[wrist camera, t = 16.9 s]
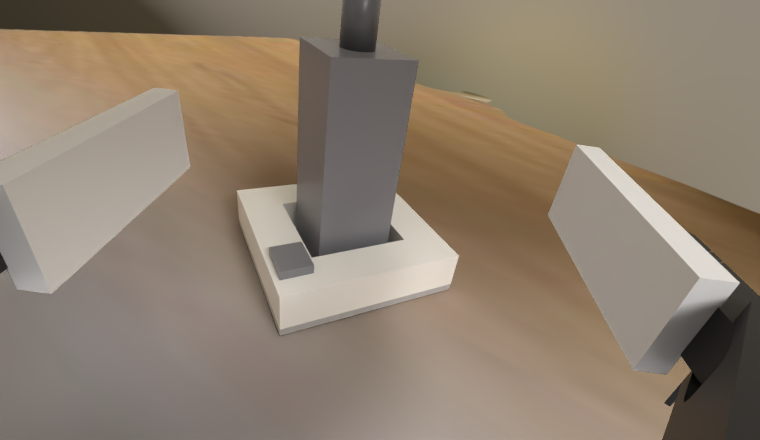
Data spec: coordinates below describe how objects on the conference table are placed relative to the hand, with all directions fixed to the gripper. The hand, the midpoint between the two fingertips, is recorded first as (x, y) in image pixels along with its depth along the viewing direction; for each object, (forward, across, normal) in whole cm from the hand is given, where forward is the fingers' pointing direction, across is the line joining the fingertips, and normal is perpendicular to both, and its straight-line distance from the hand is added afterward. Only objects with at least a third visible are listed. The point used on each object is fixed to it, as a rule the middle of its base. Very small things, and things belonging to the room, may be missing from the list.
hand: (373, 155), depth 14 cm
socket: (+11, -2, -13) cm, 17 cm away
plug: (+11, -2, -13) cm, 17 cm away
